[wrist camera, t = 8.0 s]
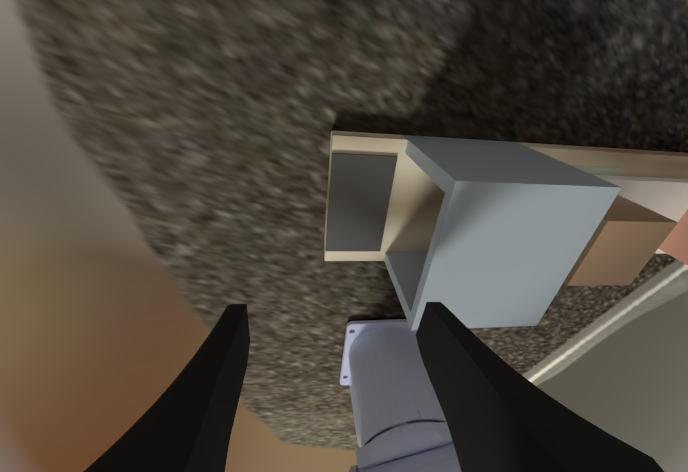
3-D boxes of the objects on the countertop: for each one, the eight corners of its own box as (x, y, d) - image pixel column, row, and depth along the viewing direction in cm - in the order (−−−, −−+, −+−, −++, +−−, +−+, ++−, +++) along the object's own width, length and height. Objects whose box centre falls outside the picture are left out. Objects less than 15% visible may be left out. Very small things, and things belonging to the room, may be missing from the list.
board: (622, 252, 27) (637, 261, 26) (323, 251, 23) (324, 262, 22) (692, 153, 22) (714, 158, 21) (331, 130, 18) (333, 136, 17)
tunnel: (474, 251, 25) (536, 325, 18) (380, 251, 23) (411, 330, 17) (516, 141, 20) (621, 187, 13) (401, 134, 19) (456, 180, 12)
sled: (673, 247, 25) (754, 290, 21) (489, 247, 23) (536, 295, 18) (728, 180, 22) (836, 214, 17) (521, 171, 19) (586, 207, 15)
